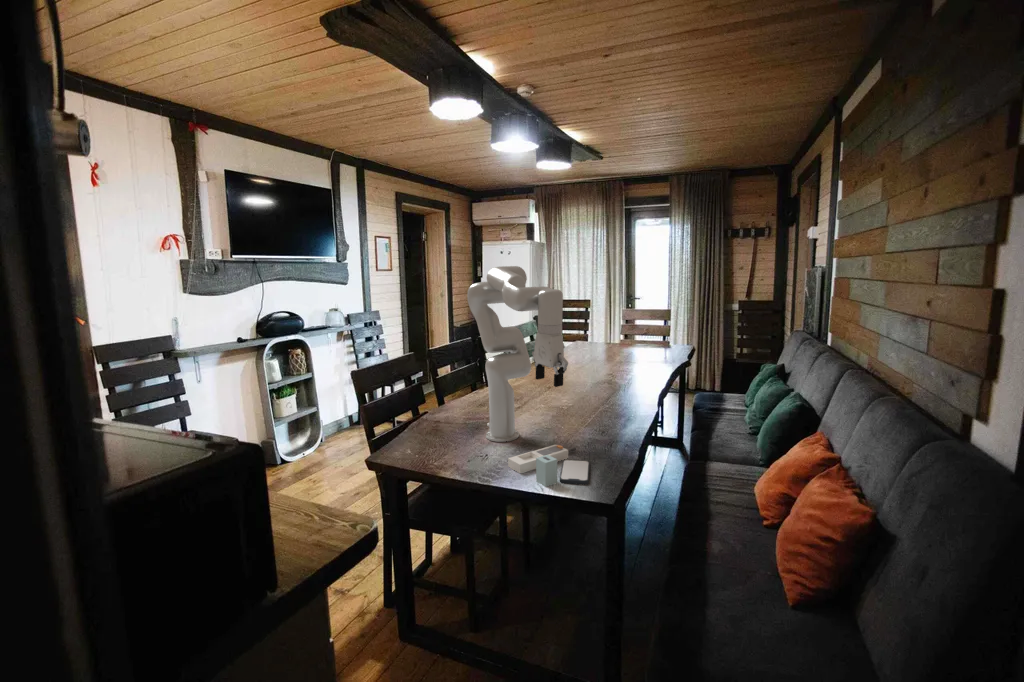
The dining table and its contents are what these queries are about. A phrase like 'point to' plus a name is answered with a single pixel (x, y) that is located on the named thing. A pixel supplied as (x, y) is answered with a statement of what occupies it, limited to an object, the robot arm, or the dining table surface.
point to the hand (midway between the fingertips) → (549, 382)
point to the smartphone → (575, 472)
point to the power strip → (529, 459)
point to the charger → (546, 470)
